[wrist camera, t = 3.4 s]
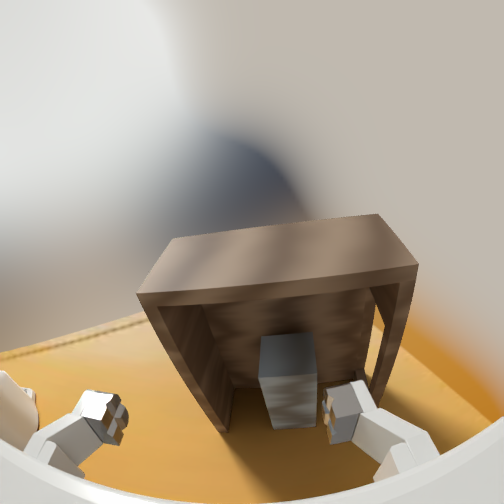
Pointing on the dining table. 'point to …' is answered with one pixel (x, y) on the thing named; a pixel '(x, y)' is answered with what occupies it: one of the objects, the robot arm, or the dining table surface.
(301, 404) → the slate block
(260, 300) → the walnut box
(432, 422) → the dining table surface
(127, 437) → the dining table surface
